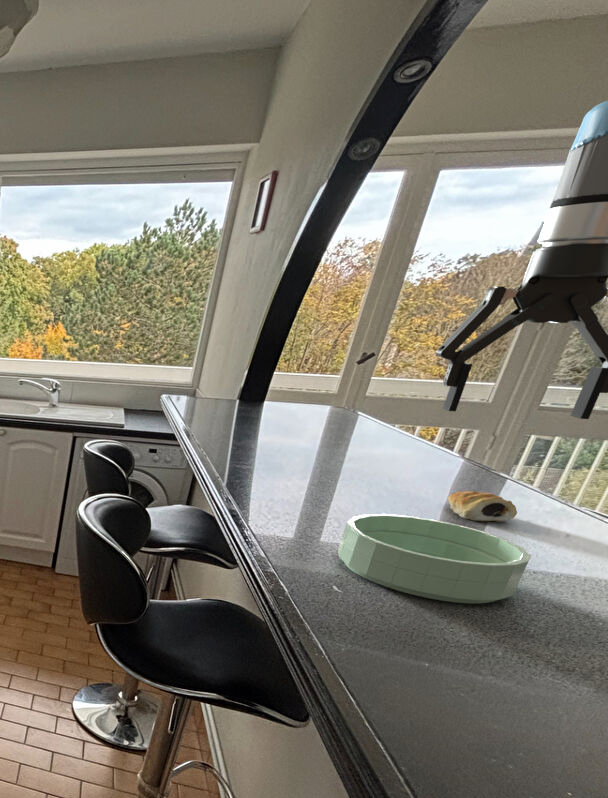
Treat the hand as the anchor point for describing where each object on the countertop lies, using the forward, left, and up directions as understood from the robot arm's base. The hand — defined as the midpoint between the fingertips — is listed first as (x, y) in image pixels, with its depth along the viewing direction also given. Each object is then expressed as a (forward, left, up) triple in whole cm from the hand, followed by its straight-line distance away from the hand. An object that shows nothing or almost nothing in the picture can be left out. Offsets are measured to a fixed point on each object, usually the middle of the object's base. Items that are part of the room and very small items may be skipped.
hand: (511, 413), depth 82 cm
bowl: (+10, +27, -17) cm, 33 cm away
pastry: (-2, -7, -17) cm, 19 cm away
